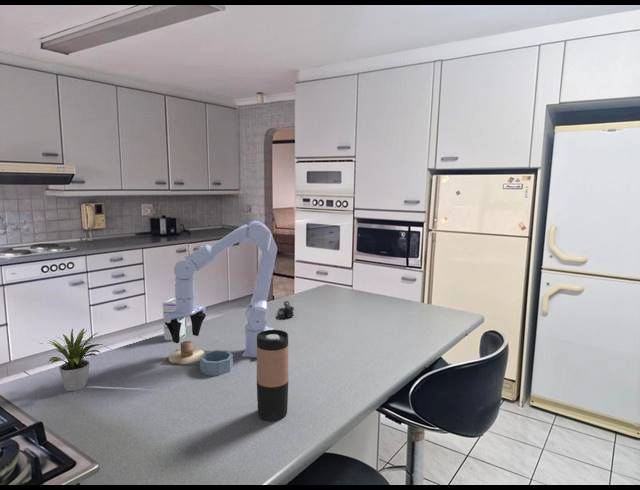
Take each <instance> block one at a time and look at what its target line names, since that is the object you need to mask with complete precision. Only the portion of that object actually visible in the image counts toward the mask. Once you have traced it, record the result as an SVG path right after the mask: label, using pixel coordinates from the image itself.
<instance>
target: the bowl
mask: <svg viewBox="0 0 640 490" xmlns="http://www.w3.org/2000/svg"><path fill="white" fill-rule="evenodd" d="M209 351H210V352H207V353H204V354H203V355H202V356H201V357H200V365H199V371H200V372H201V373H202V374H203V375H205V376H214V377H215V376H217V377H218V376H222V375H225V374H228V373H230V372H231V371H232V370H233V367H234V354H233V353H231V352H230V351H228V350H223V349H222V350H219V349H218V350H217V349H214V350H209Z"/></svg>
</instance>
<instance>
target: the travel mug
mask: <svg viewBox="0 0 640 490" xmlns="http://www.w3.org/2000/svg"><path fill="white" fill-rule="evenodd" d="M288 395H289V334H288V332H286V331H285V330H282V329H274V330H266V331H262V332H260V333H258V334H257V358H256V399H257V415H258V417H259V418H260V419H261V420H263V421H267V422H277V421H281V420H282V419H284V418H285V417H286V416H287V414H288V401H289V398H288V397H289V396H288Z"/></svg>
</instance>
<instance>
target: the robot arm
mask: <svg viewBox="0 0 640 490" xmlns="http://www.w3.org/2000/svg"><path fill="white" fill-rule="evenodd" d="M249 240H250V241H252V242H253V243H254V244H255V245H257V246H258V248H259V249H260V251H261V255H260V258H259V262H258V263H259V264H258V268H257V274H256V279H255V283H254V288H253V294H252V298H251V300H250V304H249V306H248V307H247V308H246V310H245V318H246V320H247V323H246V324H245V327H244V328H245V329H244V330H245V331H244V332H245V333H244V335H245V338H244V339H245V340H244V341H245V343H244V344H245V350H244V352H243V353H242V354H241V356H242V357H250V358H256V359H257V334H258V333H260V332H262V331H266V330H275V328H274V327H270V326H269V327H268V317H267V310H268V303H267V302H268V297H269V292H270V287H271V283H272V278H273V273H274V270H275V269H274V267H275V264H276V263H275V262H276V259H277V258H276V257H277V253H278V246H277V244H276V241H275V240H274V236H273V235H272V231H271V230H270V228H268V226H266V224H264V223H262V222H261V221H259V220H251V221H249V222H248V223H247V224H246V223H245V224H244V225H241V226H240V227H238V228H236V229H234V230H233V231H231V232H229V233H228V234H227V235H225V236H223V237H222V238H221V239H219V240H218V241H216V242H215V243H213V244H211V245H208V244H204V245H202V244H201V245H198V247H197V249H196V250H194V251H193V252H191V253H189V254H185V255H184V256H183V257H184V258H181V259H179V260H177V262H176V263H175V265H174V268H173V271H174V275H175V278H174V279H175V280H174V281H175V284H174V288H175V289H174V293H175V297H174V298H176V309H175V311H174V312H172V313H170V314H168V315H165V316H164V321H163V323H164V322H165V324H166V326H167V327H168V329H169V331H170V333H171V336H172V339H173V340H172V342H173V343H175V344H179V343H180V341H181V340H180V327H181V324H182V323H180V322H178V321H177V319H180V318H184V317H186V318H187V317H190V322H191V332H192V336H194V337H195V336H196V337H199V335H200V331H201V327H202V324H203V322H204V320H205V318H206V313H205V312H206V306H205V305H202V304H201V305H196V300H195V299H196V297H195V295H196V293H195V281H194V274H195V272H198V271H200V270H202V269H203V268H205V267H206V266H208V265H210V264H211V263H213V262H215V261H216V259H217V255H218V254H220V253H222V252H223V251H225V250H226V249H228V248H230V247H231V246H233V245H235V244H237V243H240V242H244V243H245V242H249Z"/></svg>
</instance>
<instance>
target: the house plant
mask: <svg viewBox="0 0 640 490" xmlns="http://www.w3.org/2000/svg"><path fill="white" fill-rule="evenodd" d="M70 332H71V333H70V339H69V338H68V336H67V335H65V334H64V333H62V336H63V338H64V340H62V338H61V337H58V336H56V338H58V339H61V340H62V341H63V343H64V345H65V346H66V347H67V348H64V347H63V345H61V343H59V342H58V341H56V340H55V339H51V338H50V340H49V342H48V344H50V345H52V346H54V347H55V348H57V349H56V351H57V352H59V353H61V354H62V355H63V356H64V357H65V358H66V360H67V361H66V360H65V359H62V358H60V357H57V356H53V357H50V358H49V360H48V363H49V362H50V364H53V363H54V362H55V363H56V362H59V361H60V362H61V361H62V362H64V363H63V364H61V365H60V366H59V367H58V369H59V372H60V376H61V379H62V383H63V386H64V390H65V391H67V392H78V391H79V390H83V389H84V388H86V387H87V384H88V381H89V380H88V379H89V378H88V377H89V372H90V370H89V369H90V361H89V360H87V359H85V358H87V357H92V356H95V357H99V356H98V355H97V353H101V351H100V350H98V349H91V348H95V347H97V346H102V345H105V344H104V343H101V344H100V343H97V344H96V343H95V344H90V345H89V342H92V341H93V339H92V338H93V337H94V336H96V335H98V332H96V333H94V334H92V335H91V336H89V338H88V339H87V340H86V341H84V342H83V343H82V340H83V338H84V335H85V334H86V332H87V329H86V330H85V328H82V329H81V330H80V331H79V333H78V334H77V337H76V338H75V339H74V328H71V330H70ZM40 344H43V342H41V343H39V345H40ZM86 345H87V346H86ZM90 349H91V350H90Z"/></svg>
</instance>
